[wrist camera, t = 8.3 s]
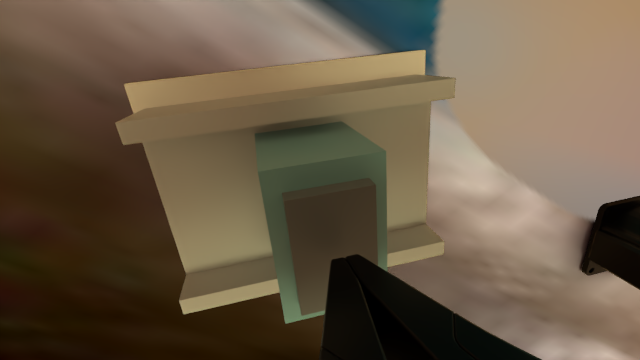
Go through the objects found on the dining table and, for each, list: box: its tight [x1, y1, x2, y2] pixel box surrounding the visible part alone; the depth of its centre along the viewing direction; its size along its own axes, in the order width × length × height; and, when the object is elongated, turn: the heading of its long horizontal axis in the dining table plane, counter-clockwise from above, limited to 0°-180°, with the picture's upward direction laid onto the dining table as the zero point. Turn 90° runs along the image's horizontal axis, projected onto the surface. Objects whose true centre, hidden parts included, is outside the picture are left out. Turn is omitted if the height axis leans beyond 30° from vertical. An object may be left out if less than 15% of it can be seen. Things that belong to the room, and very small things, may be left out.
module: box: [255, 121, 387, 324], centre depth 12 cm, size 6×4×6 cm, turn 5°
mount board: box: [115, 50, 456, 314], centre depth 15 cm, size 14×11×4 cm
